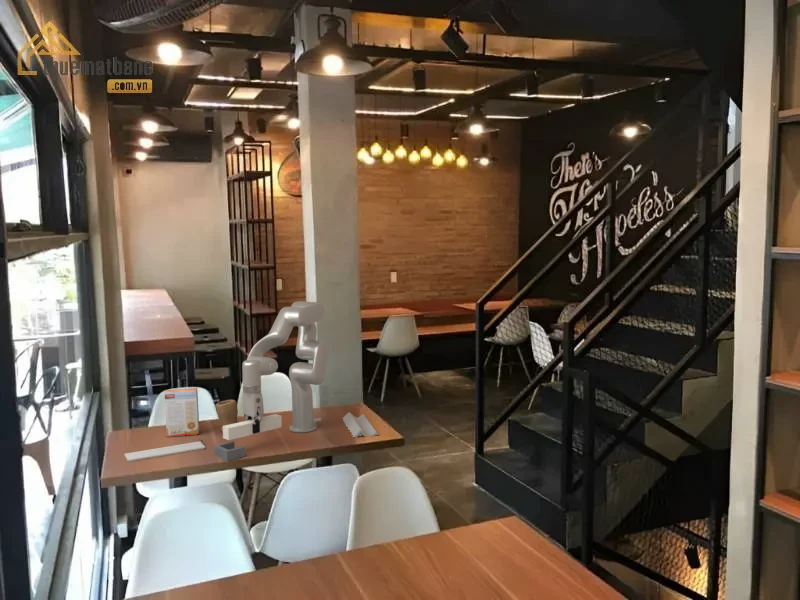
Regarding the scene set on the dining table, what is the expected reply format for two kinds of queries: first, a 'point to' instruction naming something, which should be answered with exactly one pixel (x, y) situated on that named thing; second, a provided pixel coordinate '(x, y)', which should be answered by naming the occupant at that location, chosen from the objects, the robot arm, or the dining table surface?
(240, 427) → the cream white rectangular bar
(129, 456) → the baseboard molding
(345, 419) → the crown molding
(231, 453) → the end cap
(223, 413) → the tan boot
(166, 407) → the cracker box
